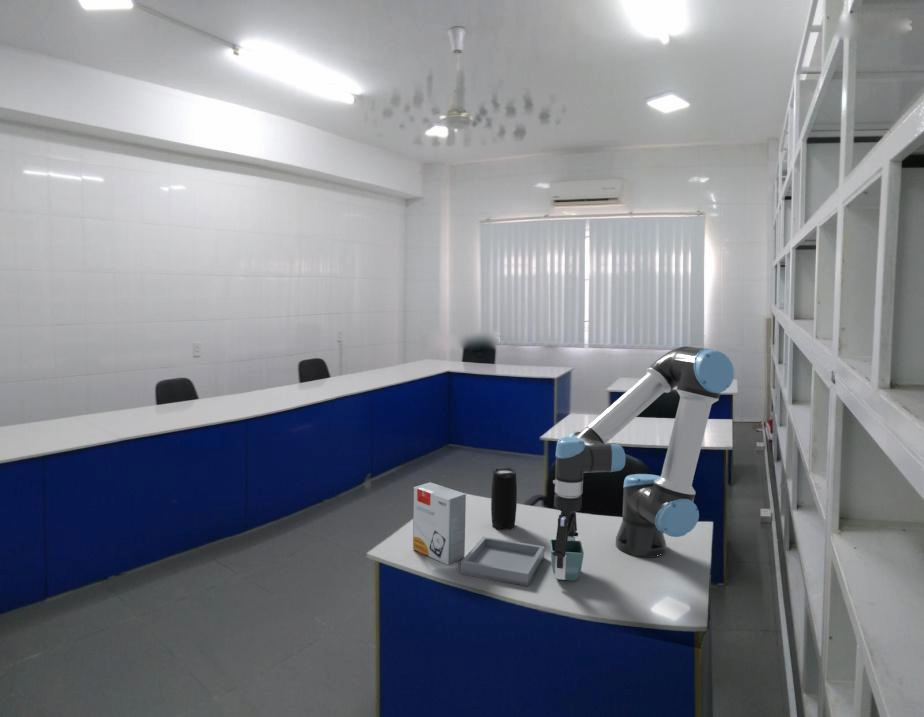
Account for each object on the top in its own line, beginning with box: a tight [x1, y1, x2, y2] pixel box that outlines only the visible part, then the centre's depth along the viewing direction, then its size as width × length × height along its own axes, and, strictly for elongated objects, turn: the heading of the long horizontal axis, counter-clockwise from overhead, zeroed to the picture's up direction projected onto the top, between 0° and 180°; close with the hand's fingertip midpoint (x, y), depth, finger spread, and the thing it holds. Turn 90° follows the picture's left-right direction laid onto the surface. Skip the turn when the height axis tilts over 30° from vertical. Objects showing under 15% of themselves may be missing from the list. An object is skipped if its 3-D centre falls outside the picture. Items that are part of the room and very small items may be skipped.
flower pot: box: [549, 538, 585, 582], centre depth 165 cm, size 9×9×9 cm
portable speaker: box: [490, 467, 518, 530], centre depth 201 cm, size 9×9×20 cm
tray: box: [460, 536, 546, 587], centre depth 172 cm, size 19×19×4 cm
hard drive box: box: [412, 481, 467, 566], centre depth 179 cm, size 16×8×20 cm, turn 47°
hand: (564, 568), depth 165 cm, fingers open, 13 cm apart
